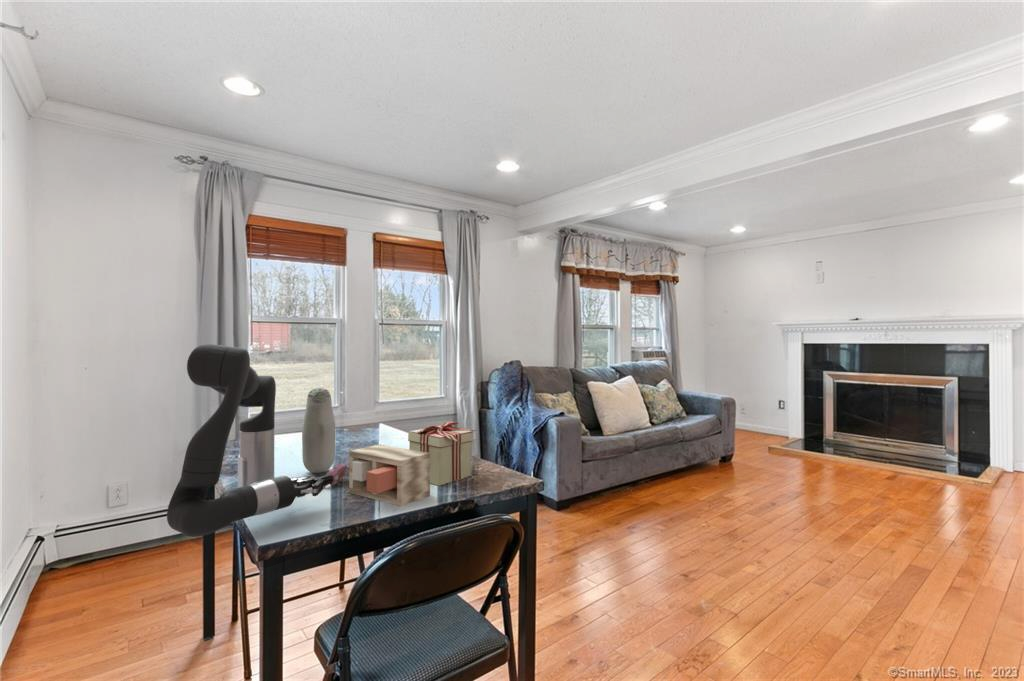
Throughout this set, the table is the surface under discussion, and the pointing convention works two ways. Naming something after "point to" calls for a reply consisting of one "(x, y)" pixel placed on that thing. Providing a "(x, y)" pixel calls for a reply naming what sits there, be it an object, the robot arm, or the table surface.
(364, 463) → the off-white plug
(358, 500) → the table surface
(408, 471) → the box
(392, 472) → the rust-red plug
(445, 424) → the gift box
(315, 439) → the off-white bottle
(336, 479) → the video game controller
